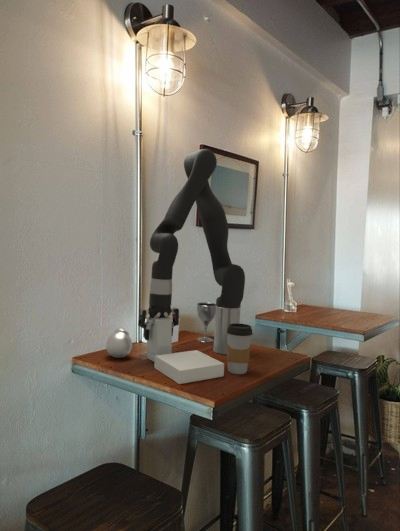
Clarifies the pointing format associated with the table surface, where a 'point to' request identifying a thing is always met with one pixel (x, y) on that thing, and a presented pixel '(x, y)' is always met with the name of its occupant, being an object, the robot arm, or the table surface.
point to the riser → (189, 366)
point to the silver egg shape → (119, 343)
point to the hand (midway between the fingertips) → (158, 338)
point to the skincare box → (159, 338)
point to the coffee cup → (238, 347)
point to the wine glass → (206, 317)
